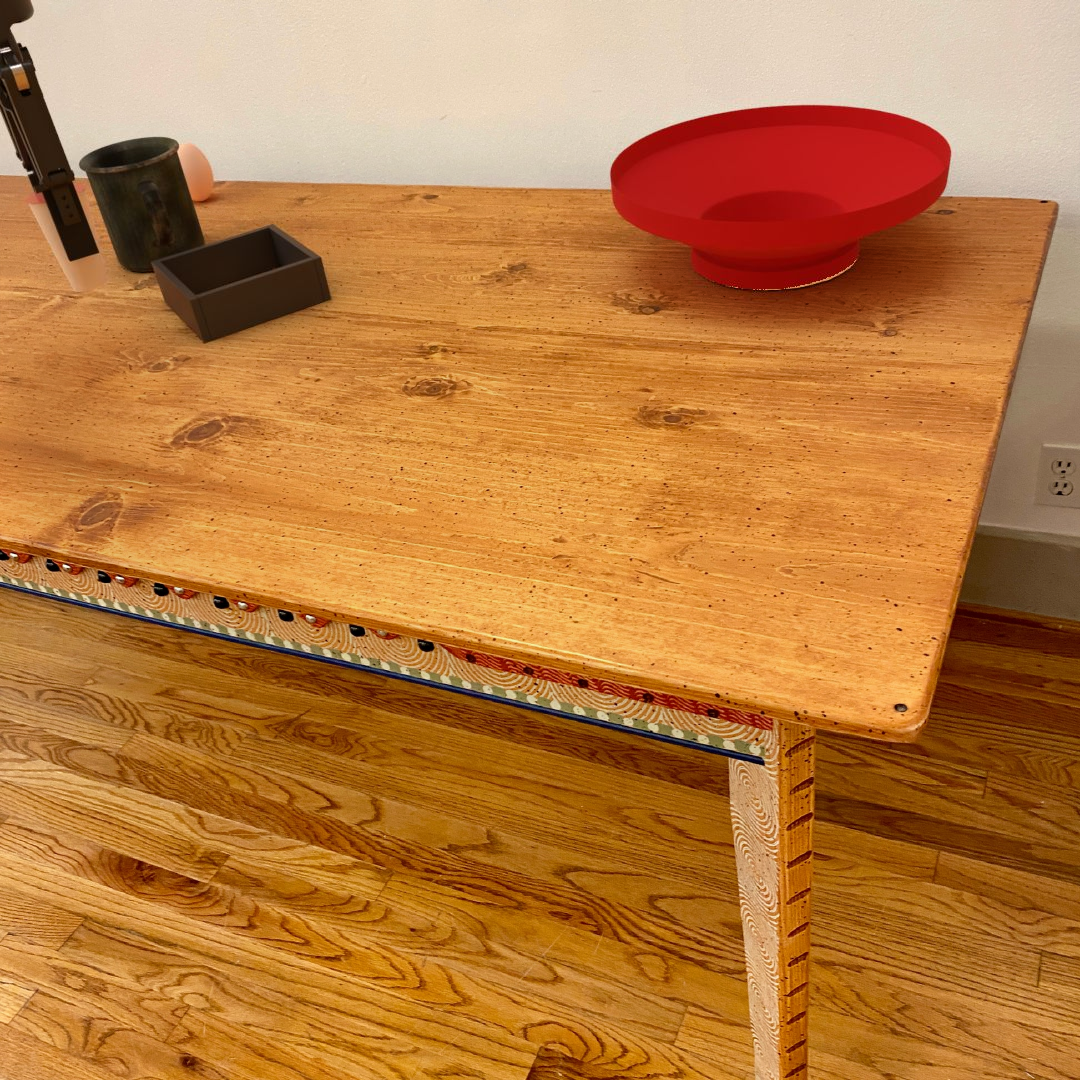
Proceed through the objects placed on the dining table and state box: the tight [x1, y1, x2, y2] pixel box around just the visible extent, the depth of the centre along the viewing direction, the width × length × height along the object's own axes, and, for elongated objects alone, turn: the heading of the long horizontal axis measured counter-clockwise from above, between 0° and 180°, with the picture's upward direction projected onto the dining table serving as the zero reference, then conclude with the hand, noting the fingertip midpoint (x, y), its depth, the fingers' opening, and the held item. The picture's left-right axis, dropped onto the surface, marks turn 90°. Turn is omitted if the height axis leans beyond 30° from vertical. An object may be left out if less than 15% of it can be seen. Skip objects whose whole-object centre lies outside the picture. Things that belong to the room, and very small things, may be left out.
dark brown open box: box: [151, 223, 332, 344], centre depth 111 cm, size 14×14×4 cm
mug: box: [78, 136, 206, 272], centre depth 122 cm, size 11×15×12 cm
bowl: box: [609, 104, 952, 291], centre depth 103 cm, size 30×30×10 cm
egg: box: [177, 142, 215, 202], centre depth 140 cm, size 5×5×7 cm
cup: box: [24, 182, 110, 293], centre depth 100 cm, size 5×5×12 cm
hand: (76, 247), depth 102 cm, fingers closed on cup, 5 cm apart
